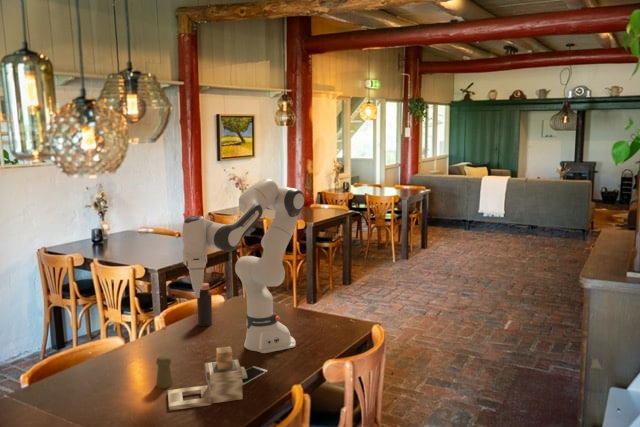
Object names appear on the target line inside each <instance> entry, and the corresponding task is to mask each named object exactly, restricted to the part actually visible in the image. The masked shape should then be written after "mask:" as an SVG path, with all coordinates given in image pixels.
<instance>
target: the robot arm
mask: <svg viewBox="0 0 640 427" xmlns="http://www.w3.org/2000/svg"><path fill="white" fill-rule="evenodd" d="M305 202H306V198H305V194H304V192H303V191H302V190H300V189H298V188H296V187H295V188H293V187H288V186H280V185H279V186H278V184H277V183H276V181H274V180H273V179H270V178H264V179H262V180H259V181H258V182H255V183H254V184H253V185H251V186H250V187H248V188H247V189H246V190H245V191H243V192H242V193H241V195H240V196H239V198H238V206H239V209H240V211H241V212H242V214H241V216H239V217H238V218H237V219H236V221H235V222H233V223H228V224H224V223H219V222H215V221H211V220H208V219H207V218H205V216H202V215H191V216H188V217H186V218H185V219H184V221H183V222H182V223H183V225H182V233H181V234H182V236H181V237H182V243H183V249H182V256H183V257H182V259H183V260H182V263H183V265H185V266H186V268H187V269H188V271H189V272H188V273H189V279H190V282H191V286H192V291H194V298H195V299H197V298H199V297H200V289H201V288H202V287H203V283H204V278H205V277H204V275H205V268H206V266H207V265H206V264H208V247H211V248H214V249H217V250H218V249H219V250H221V251H224V252H227V253H229V252H233V251H235V249H236V248H238V246H239V245H240V243H241V242H242V240H243V239H244V237H245V236H246V235H247V233H248V232H249V231H250V230H251V229H252V228H253V227H254V225H256V224H257V222H258V221H259V220H260V219H261V217H262V215H263V213H264V211H265V210H266V209H267V210H270V211H271V210H272V211H275V212H274V218H273V219H272V220H271V222H270V224H269V226H268V228H267V229H266V232H264V234H263V237H262V238H261V241H260V244H261V247H262V249H263V252H262V255H261V257H257V256H254V255H244V256H241V257H239V258H238V259H237V261H236V263H235V265H234V271H235V274H236V275H237V277H238V278H239V279H240V281H241V283H242V286H243V289H244V292H245V296H246V308H247V309H246V310H247V311H246V312H247V313H246V315H245V316H246V317H245V318H246V319H245V324H246V336H245V341H244V344H243V347H244V348H245V349H246V350H248V351H253V352H258V353H261V354H267V353H273V352H277V351H283V350H287V349H291V348H295V347H296V345H297V344H296V340H295V338H294V337H293V336H291V332H290V330H289V328H288V327H287V326H286V325H284V324H283V323H281V322H280V320H281V317H280V316H279V315H278V314H277V313H275V312H274V310H273V309H274V304H273V303H274V302H273V300H274V297H273V294H272V293H271V292H270V291H269V289H268V287H278V286H280V285H281V284H283V282H284V280H285V277H286V269H285V267H284V265H283V264H284V263H283V261H284V260H283V259H284V254H285V251H286V249H287V247H288V245H289V243H290V241H291V239H292V237H293V234H294V233H295V230H296V227H297V225H298V216H299V214H300V213H301V212H302V210H303V208H304V206H305Z"/></svg>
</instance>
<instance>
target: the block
mask: <svg viewBox="0 0 640 427" xmlns="http://www.w3.org/2000/svg"><path fill="white" fill-rule="evenodd" d="M215 352H216V353H215V356H216V362H217V367H218V370H221V369H229V368H233V364H232V360H233V350H232V347H231V346H220V347H216V348H215Z"/></svg>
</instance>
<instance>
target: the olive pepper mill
mask: <svg viewBox="0 0 640 427" xmlns="http://www.w3.org/2000/svg"><path fill="white" fill-rule="evenodd" d="M171 362H172V358H171V356H170V355H168V354H167V355H166V354H162V355H159V356H158V357H157V358H156V363H155V364H156V365H157V375H156V383H155V384H156V388H158V389H168V388H171V387H172V386H173V384H174V381H173V380H174V379H173V375H172V370H171Z"/></svg>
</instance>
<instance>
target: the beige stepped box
mask: <svg viewBox="0 0 640 427" xmlns="http://www.w3.org/2000/svg"><path fill="white" fill-rule="evenodd" d="M207 363H208V367H209V371H210V383H207V384H206V385H199V386H191V387H182V388H176V389H167V399H168V400H167V401H168V411H175V410H182V409H184V410H185V409H190V408H198V407H205V406H211V405H212V404H215V403H217V404H219V403H223V402H231V401H238V400H243V385H242V369H241V367H242V366H241V364H240V362H239V359H232V364H233V368H229V369H221V370H218V367H217V361H214V362H212V361H211V362H207ZM199 394H200V397H201V398H192V399H186V400H185V399H184V398H183V397H184V396H192V395H199Z"/></svg>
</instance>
